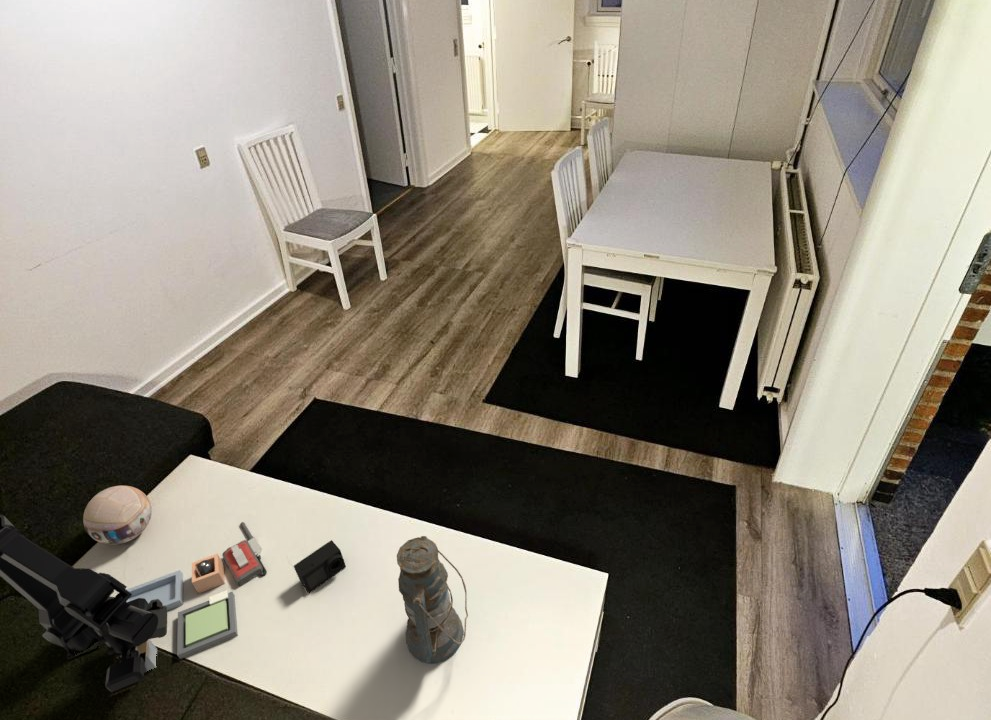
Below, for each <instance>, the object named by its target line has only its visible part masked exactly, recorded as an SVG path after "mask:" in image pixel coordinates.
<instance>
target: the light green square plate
mask: <svg viewBox="0 0 991 720" xmlns="http://www.w3.org/2000/svg"><path fill="white" fill-rule="evenodd" d="M227 608H228V607H227V602H226V601H225V600H224V601H222V602H219V603H217V604H214V605H212V606H209V607H206V608H204V609H201V610H199V611H196V612H194V613H191V614H189V615H186V618H185V647H189V646H191V645H194V644H196V643H199V642H201V641H204V640H206V639H208V638H211V637H213V636H216V635H218V634H221V633H223V632H226V631H228V630H229V626H228V625H229V622H228V620H229V619H228V609H227Z"/></svg>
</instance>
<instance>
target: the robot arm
mask: <svg viewBox="0 0 991 720" xmlns="http://www.w3.org/2000/svg"><path fill="white" fill-rule="evenodd" d="M0 578H2V579H3V580H4V581H5V582H7V583H8V584H9V585H10V586H11V587H12V588H14V589H15V591H17V592H18V593H20V595H22V596H23V597H24V598H25V599H27V600H28V601H29V602H30V603H31V604H32V605H33V606H35V608H37V609H38V620H39V622H38V623H39V624H40V625H41V626H42V627H43V628H44V629H45V632H44V633H43V634H42V635H41V637H42V638H44V639H45V640H46V641H48V642H49V643H51V644H54V645H57V646H60V647H62V648H64V649H65V650H66V651H67V655H66V659H67V660H68V659H70V660H72V659H71V658H73V657H75V654H76V655H77V653H80V652H83V651H84V650H86V649H88V648H90V647H91V646H92V645H94V643H96V642H98V643H99V645H100V644H101V645H103V644H105V645H106V646H107V650H106V654H107V655H108V656H110V655H114V654H116V659H121V660H120V661H119V662H117V663H115V664H111V665H109V667H108V668H107V669H106V677H105V684H104V685H105V688H106V689H107V690H108V691H109V692H111V693H113V692H116V691H119V690H121V689H123V688H126V687H127V686H130V685H133V684H135V683H138V682H141V681H142V679H143V678H144V677H145V673H147V672H146V667H145V665H144V664H145V658H146V652H144V653H141V654H139V651H137V650H136V646H139V645H141V644H143V643H145V642H146V641H148V640H149V639H150V640H152V639H153V640H154V639H161V638H164V637H165V636H166V635H167V633H168V611H167V607H166V606H163V603H162V602H161V601H160V600H159V599H155V600H151V601H150V602H149V604H148V602H147V601H146V599H144V598H137V599H134V600H132V601H129V602H126V601H127V600H128V599H129V598H130V597H131V596H132V594H131V593H130V592H129V591H127V589H126V588H127V587H128V586H127V585H125V584H124V583H122V581H119V580H118V579H117V578H116V577H114V576H112V575H111V574H109V573H105V572H98V571H96V570H93V569H91V568H90V567H89V568H88V567H87V568H85V567H83V568H78V567H77V568H75V567H73V566H71V565H70V564H68V563H66V562H65V561H63V560H61V559H60V558H59V557H57V556H56V555H54V554H53V553H51V552H49V551H47V550H46V549H45V548H43V547H41V546H40V545H38V544H37V543H34V542H33V541H31V540H30V539H28V538H27V537H25V535H24V533H23V532H22V531H21V530H20V529H19V528H17V527H16V526H14V524H13V523H12V522H11V521H10V520H9V519H8V518H7V517H6V516H5V515H3V514H0ZM114 592H117V594H116V595H115V596H114V597H113V596H112V594H113V593H114ZM74 652H75V653H74ZM69 656H70V657H69ZM75 658H76V657H75ZM73 659H74V658H73Z"/></svg>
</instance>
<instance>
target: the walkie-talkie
mask: <svg viewBox="0 0 991 720" xmlns="http://www.w3.org/2000/svg"><path fill="white" fill-rule="evenodd" d="M240 526H241V529H242V530H243V532H244V533H245V535H246V537H247V538H248V540H246V539H244V540H240V541H239V542H238V543H237V544H235V545H232V546H229V547H228V548H226V550H224V551H223V552H222V559H223V561H224V562H225V565H226V566H227V568H228V569H229V571H230V572H231V574H232V576H233V579H234V581H235V582H236V585H238V586H239V587H241V586H244V585H246V584H247V583H248V582H251V581H252V580H254V579H256V578H257V577H259V576H261V577H265V576H266V575H267V572H268V571H267V570H266V567H265V566H264V564H263V562H262V561H261V559H262V556H261V554H262V550H263V548H262V547H261V545H260V543H259V540H258V538H257V537H256V536H253V535H252V533H251V532H250V530H249V528H248V527H247V525H246V523H245V522H244V521H241V522H240Z"/></svg>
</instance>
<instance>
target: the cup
mask: <svg viewBox="0 0 991 720" xmlns="http://www.w3.org/2000/svg"><path fill="white" fill-rule="evenodd" d="M203 560H208V561H209V562H210V564H211V565H212V567H213V569H214V571H215V572H212V573H209V574H207V575H204V576H202V575H201V574H200V572H199V570H198V568H197V566H198V564H199V563H200V562H201V561H203ZM225 581H226V580H225V566H224V563H223V560H222V558H221V557H220V555H219V554H218V553H215V554H212V555H210V556H207V557H204V558H202V559H199V560H196V561H194V562H192V563H191V584H192V586H193V587H194V589H195V590H196V592H197V593H198V594H201V593H204V592H207V591H210V590H212V589H214V588H217V587H220V586H222V585H225V584H226V582H225Z"/></svg>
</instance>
